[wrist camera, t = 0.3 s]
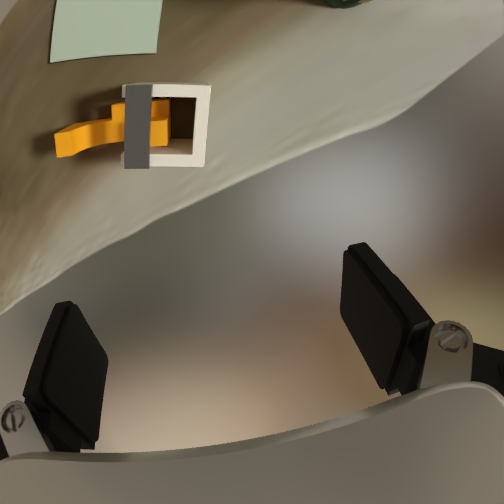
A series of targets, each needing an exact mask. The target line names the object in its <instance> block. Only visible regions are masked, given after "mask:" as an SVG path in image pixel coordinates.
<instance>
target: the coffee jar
mask: <svg viewBox="0 0 504 504" xmlns="http://www.w3.org/2000/svg"><path fill="white" fill-rule="evenodd" d="M326 1H327V2H328V3H329V4H331V5H332V6H334V7H337V8H342V9H345V8H351V7H355V6H358V5H361V4H364V3H367V2H369V1H372V0H326Z"/></svg>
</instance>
